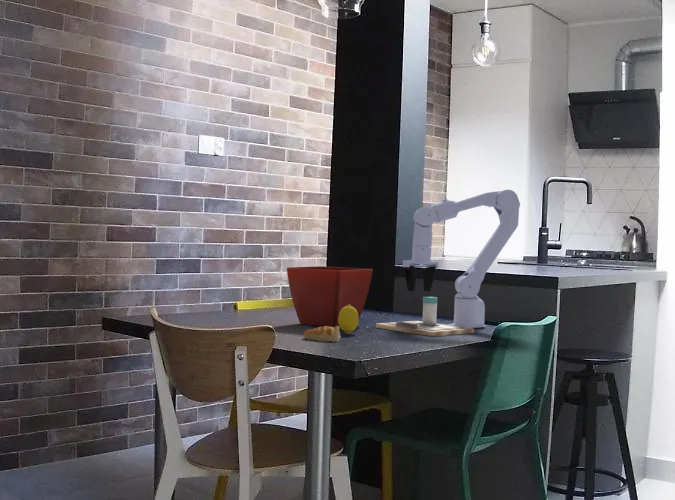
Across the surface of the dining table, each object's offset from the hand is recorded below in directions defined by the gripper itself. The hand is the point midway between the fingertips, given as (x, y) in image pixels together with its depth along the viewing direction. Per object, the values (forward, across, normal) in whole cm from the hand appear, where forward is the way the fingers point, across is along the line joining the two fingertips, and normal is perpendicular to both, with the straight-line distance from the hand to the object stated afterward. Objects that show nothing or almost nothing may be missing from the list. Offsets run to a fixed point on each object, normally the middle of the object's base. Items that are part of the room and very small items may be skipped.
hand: (419, 291), depth 249 cm
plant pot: (+11, +25, -13) cm, 30 cm away
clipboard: (+10, +8, +10) cm, 17 cm away
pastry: (+12, +49, +11) cm, 52 cm away
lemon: (+11, +35, +6) cm, 37 cm away
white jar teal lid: (+9, +6, +10) cm, 15 cm away
